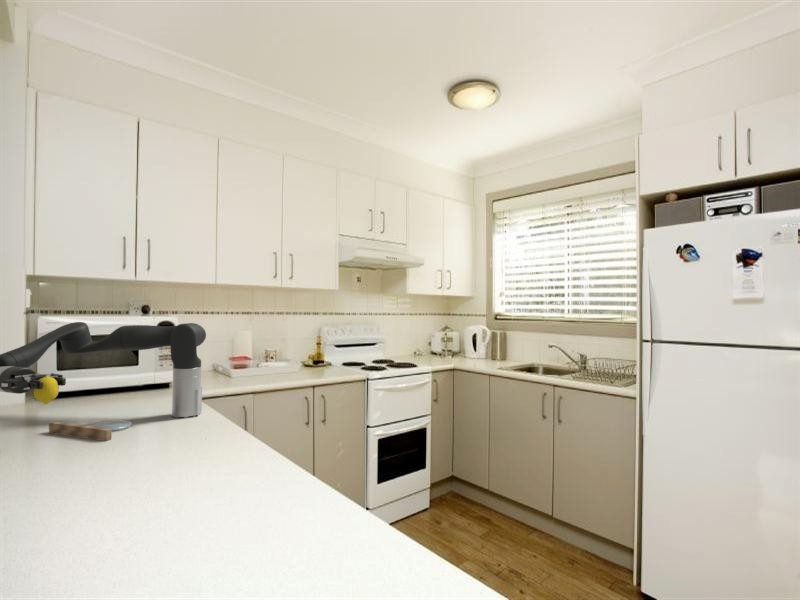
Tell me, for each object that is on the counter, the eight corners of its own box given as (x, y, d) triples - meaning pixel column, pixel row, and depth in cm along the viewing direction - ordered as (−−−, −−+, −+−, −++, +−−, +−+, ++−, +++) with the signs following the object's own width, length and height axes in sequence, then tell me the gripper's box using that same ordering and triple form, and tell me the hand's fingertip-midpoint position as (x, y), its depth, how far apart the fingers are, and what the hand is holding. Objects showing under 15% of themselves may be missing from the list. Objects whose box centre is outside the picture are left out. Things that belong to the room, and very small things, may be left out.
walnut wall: (49, 432, 137) (49, 422, 137) (54, 431, 139) (54, 421, 139) (106, 440, 130) (106, 430, 130) (111, 439, 131) (111, 429, 131)
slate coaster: (137, 422, 150) (137, 420, 150) (122, 432, 139) (122, 429, 139) (97, 423, 148) (97, 421, 148) (79, 433, 136) (79, 431, 136)
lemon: (44, 407, 122) (45, 377, 122) (28, 405, 123) (28, 376, 123) (63, 402, 127) (64, 374, 127) (47, 401, 128) (48, 373, 128)
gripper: (-17, 369, 123) (24, 373, 118) (39, 363, 137) (79, 366, 131) (-18, 397, 123) (24, 401, 118) (38, 388, 137) (78, 392, 131)
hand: (52, 383), depth 124 cm, fingers closed on lemon, 5 cm apart
